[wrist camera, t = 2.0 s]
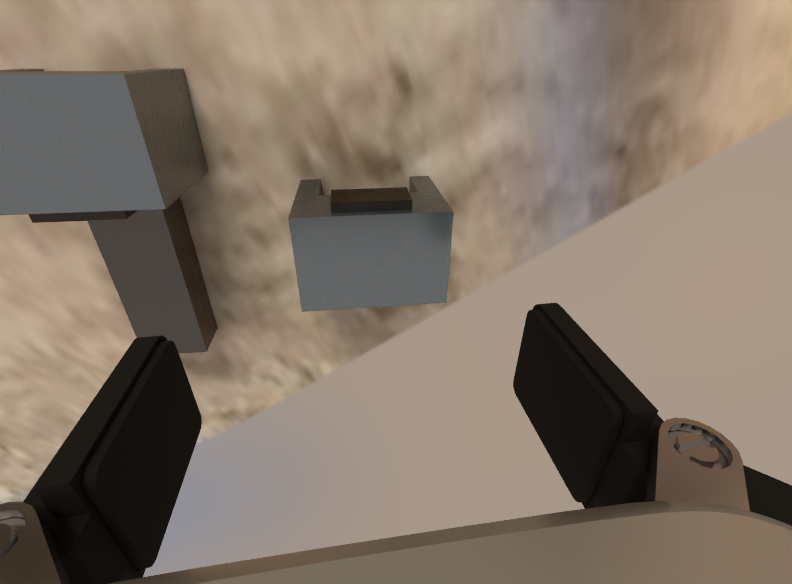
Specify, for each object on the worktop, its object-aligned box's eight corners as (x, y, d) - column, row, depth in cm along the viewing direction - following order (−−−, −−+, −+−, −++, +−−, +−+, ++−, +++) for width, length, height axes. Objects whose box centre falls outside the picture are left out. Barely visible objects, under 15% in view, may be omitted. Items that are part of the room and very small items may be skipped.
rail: (183, 68, 16) (123, 74, 11) (245, 326, 22) (222, 391, 18) (16, 69, 15) (-112, 75, 11) (131, 334, 21) (78, 403, 17)
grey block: (428, 167, 19) (454, 201, 14) (425, 252, 21) (446, 302, 17) (299, 171, 18) (286, 207, 14) (310, 257, 20) (302, 311, 16)
